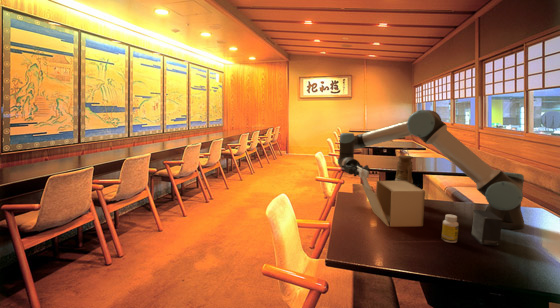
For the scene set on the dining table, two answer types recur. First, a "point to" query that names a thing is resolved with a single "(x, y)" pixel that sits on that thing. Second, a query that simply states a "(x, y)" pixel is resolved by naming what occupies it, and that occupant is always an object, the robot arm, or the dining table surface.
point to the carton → (401, 202)
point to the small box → (486, 227)
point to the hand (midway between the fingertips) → (364, 174)
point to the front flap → (373, 199)
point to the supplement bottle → (450, 228)
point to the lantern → (404, 168)
